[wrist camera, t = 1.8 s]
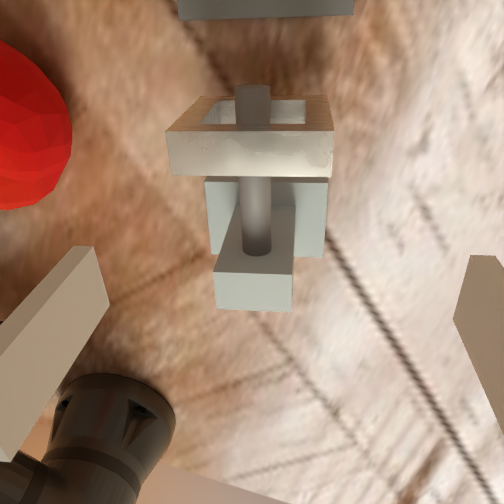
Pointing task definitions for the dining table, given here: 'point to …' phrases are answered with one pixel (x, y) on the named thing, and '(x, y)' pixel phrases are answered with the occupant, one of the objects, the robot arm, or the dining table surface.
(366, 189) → the dining table surface
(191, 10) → the coaster
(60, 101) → the tomato
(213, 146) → the square ring
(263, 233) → the stand
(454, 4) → the dining table surface
